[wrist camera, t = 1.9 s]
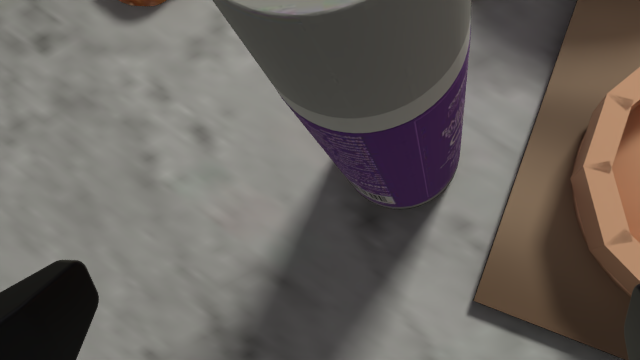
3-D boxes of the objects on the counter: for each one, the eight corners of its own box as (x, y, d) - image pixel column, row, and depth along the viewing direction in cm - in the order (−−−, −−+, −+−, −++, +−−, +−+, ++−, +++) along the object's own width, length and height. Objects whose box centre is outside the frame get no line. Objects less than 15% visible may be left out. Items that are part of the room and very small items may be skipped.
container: (476, 189, 21) (538, -51, 7) (360, 223, 22) (193, 73, 7) (439, 82, 22) (425, -313, 8) (330, 118, 23) (139, -186, 9)
